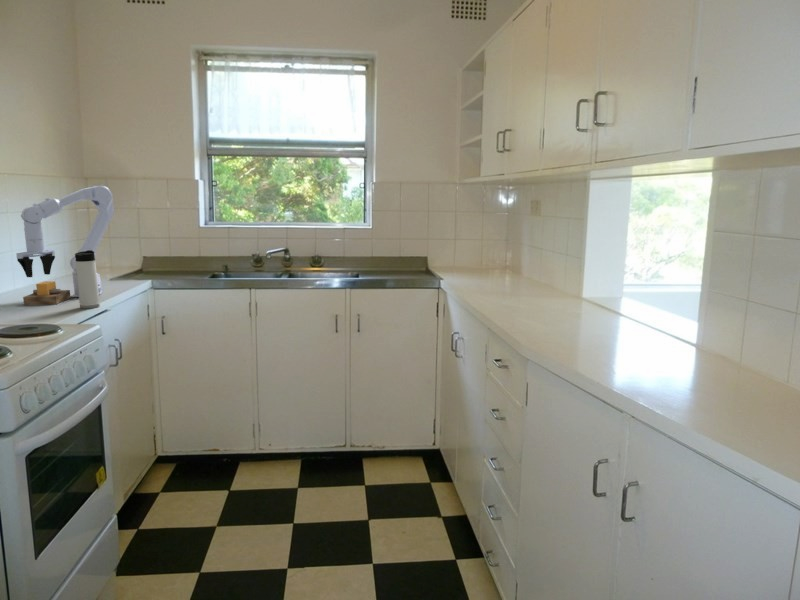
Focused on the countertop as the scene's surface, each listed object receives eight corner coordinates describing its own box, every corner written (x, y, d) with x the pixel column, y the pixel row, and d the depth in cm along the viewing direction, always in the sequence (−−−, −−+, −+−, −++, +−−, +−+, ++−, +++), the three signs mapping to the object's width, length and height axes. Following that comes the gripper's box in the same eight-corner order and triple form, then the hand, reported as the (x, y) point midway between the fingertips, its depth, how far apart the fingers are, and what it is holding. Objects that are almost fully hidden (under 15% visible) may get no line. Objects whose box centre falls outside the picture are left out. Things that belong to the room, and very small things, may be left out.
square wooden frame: (70, 297, 237) (69, 285, 236) (56, 304, 223) (55, 291, 222) (39, 298, 235) (38, 286, 234) (24, 305, 221) (22, 292, 221)
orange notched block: (57, 298, 232) (55, 281, 230) (48, 301, 226) (46, 284, 225) (46, 298, 232) (44, 281, 230) (38, 301, 227) (36, 284, 225)
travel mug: (103, 305, 221) (98, 250, 217) (93, 308, 214) (87, 252, 211) (87, 305, 221) (82, 250, 218) (76, 308, 215) (70, 252, 211)
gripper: (25, 241, 219) (29, 278, 222) (59, 238, 233) (62, 273, 235) (10, 241, 222) (14, 278, 224) (45, 237, 235) (48, 272, 237)
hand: (38, 275), depth 230 cm, fingers open, 7 cm apart
